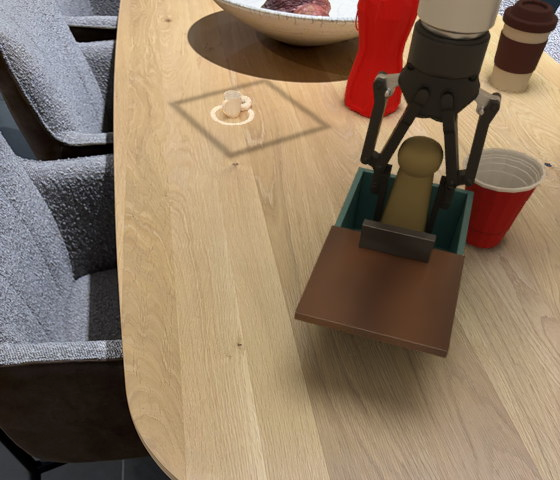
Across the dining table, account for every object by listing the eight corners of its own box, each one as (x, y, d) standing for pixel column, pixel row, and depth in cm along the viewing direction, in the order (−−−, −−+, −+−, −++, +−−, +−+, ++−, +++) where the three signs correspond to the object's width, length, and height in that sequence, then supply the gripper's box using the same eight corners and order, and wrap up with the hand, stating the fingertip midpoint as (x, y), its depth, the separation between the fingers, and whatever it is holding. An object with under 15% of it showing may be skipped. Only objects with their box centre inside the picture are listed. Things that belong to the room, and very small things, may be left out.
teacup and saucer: (243, 101, 112) (243, 79, 109) (266, 120, 108) (267, 97, 105) (202, 112, 109) (200, 89, 106) (224, 132, 105) (224, 109, 102)
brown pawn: (369, 220, 77) (386, 138, 68) (401, 203, 79) (420, 123, 71) (405, 243, 74) (427, 162, 66) (436, 225, 77) (461, 145, 68)
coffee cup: (538, 85, 124) (569, 4, 112) (522, 103, 118) (552, 19, 107) (493, 71, 127) (518, -9, 115) (475, 87, 121) (499, 5, 110)
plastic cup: (448, 209, 94) (471, 136, 84) (518, 227, 91) (550, 155, 82) (434, 249, 87) (457, 175, 78) (509, 270, 85) (542, 196, 76)
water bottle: (360, 88, 118) (384, -64, 99) (405, 110, 114) (439, -46, 95) (329, 102, 114) (348, -54, 95) (374, 125, 109) (403, -35, 90)
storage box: (453, 252, 87) (474, 191, 79) (439, 324, 77) (461, 263, 69) (348, 227, 89) (358, 166, 81) (321, 295, 79) (331, 232, 72)
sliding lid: (462, 262, 69) (472, 233, 66) (445, 358, 59) (457, 330, 56) (330, 231, 71) (335, 202, 68) (293, 319, 62) (296, 290, 58)
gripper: (553, 27, 60) (481, 221, 77) (367, -5, 63) (338, 189, 80) (552, 56, 55) (475, 256, 73) (351, 20, 58) (324, 221, 76)
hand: (403, 221), depth 77 cm, fingers closed on brown pawn, 6 cm apart
